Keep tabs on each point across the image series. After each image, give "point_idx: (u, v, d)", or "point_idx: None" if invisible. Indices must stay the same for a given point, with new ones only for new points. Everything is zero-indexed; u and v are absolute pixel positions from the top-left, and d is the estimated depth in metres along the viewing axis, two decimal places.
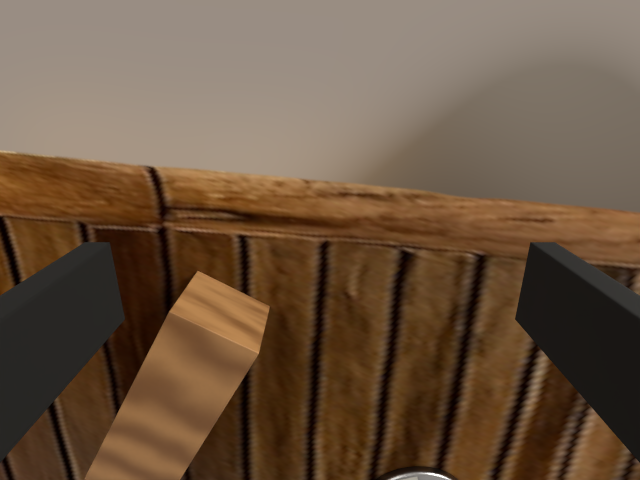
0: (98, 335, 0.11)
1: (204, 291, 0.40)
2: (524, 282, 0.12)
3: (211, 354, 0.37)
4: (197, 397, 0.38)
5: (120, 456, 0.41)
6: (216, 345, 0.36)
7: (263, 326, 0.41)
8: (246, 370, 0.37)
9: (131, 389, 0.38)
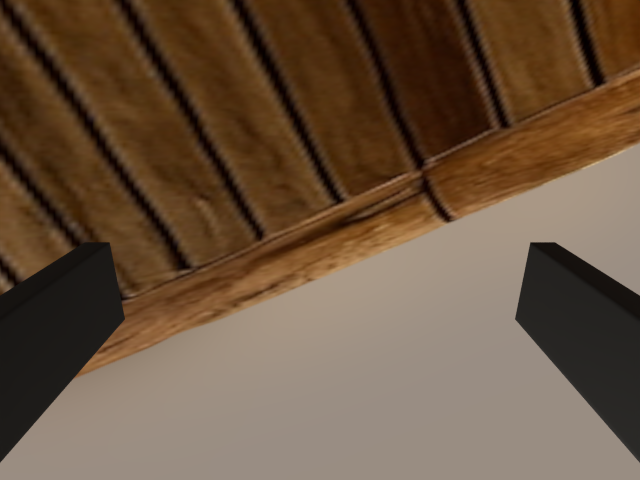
0: (98, 335, 0.11)
1: None
2: (523, 282, 0.12)
3: None
4: None
5: None
6: None
7: None
8: None
9: None
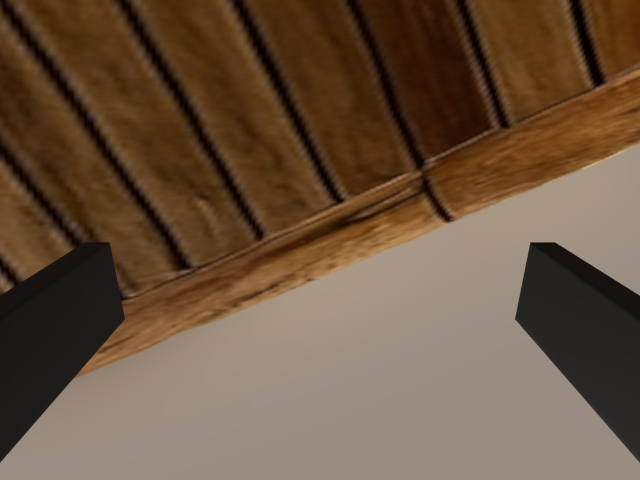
0: (98, 335, 0.11)
1: None
2: (523, 282, 0.12)
3: None
4: None
5: None
6: None
7: None
8: None
9: None
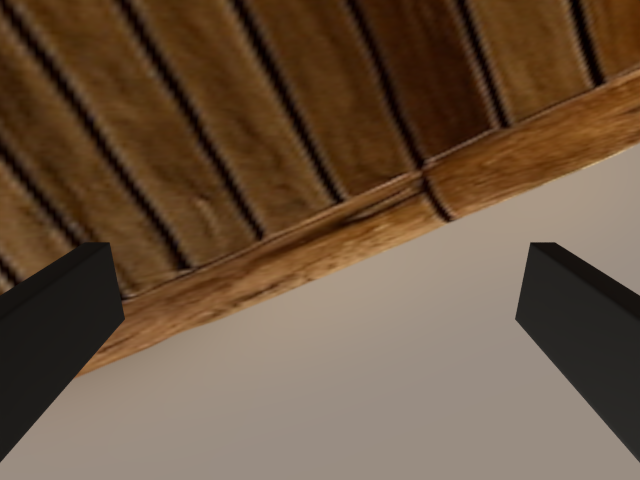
0: (98, 335, 0.11)
1: None
2: (523, 282, 0.12)
3: None
4: None
5: None
6: None
7: None
8: None
9: None
